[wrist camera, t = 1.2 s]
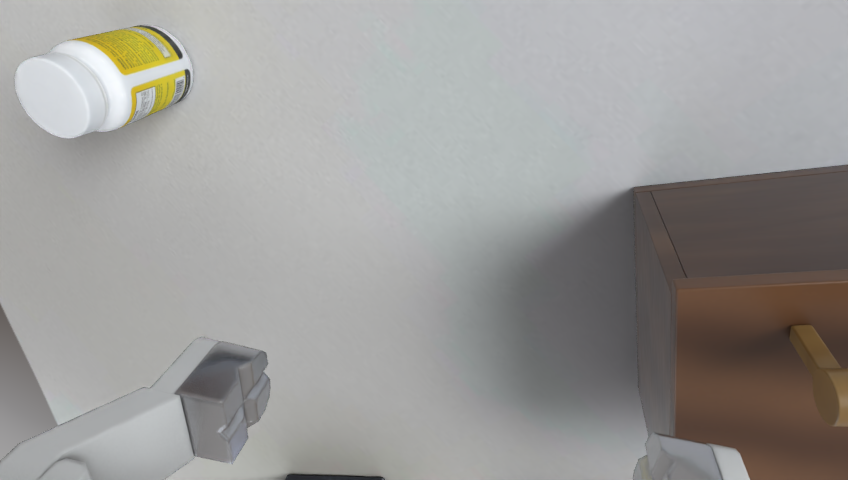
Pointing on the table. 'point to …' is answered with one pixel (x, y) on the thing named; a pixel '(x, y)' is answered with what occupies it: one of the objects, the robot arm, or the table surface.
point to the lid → (764, 370)
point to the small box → (329, 478)
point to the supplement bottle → (104, 80)
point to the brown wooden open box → (726, 249)
